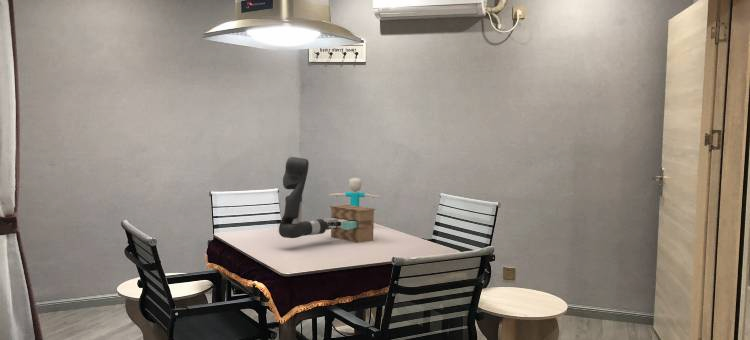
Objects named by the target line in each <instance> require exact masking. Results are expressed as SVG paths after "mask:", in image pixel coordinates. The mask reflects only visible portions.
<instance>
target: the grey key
mask: <svg viewBox="0 0 750 340" xmlns="http://www.w3.org/2000/svg"><path fill="white" fill-rule="evenodd" d="M323 220H324V221H325V222H327V221H330V222H338V220H339V218H331V217H330V218H324V219H323Z"/></svg>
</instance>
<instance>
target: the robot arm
mask: <svg viewBox="0 0 750 340" xmlns="http://www.w3.org/2000/svg"><path fill="white" fill-rule="evenodd" d="M309 165H310V163H309V160H308V159H307V158H305V157H304V158H303V157H295V156H289V157H288V158H287V160H286V163H285V171H284V174H283V177H282V185H283V188H284V189H285V190H292V191H291V192H290V194H288V195H286V196H285V199H284V201H285V206H284V214H283V216H282V218H281V220H280V224H279V226H278V232H279V236H281V237H282V238H283V239H284V238H286V239H297V238H300V237H304V236H315V235H323V234H325V233H326V231H329V230H331V229H337V226H341V222H330V221H327V222H325V221H324V219H322V218H317V219H309V220H305V221H303V193H304V189H305V185H306V180H307V176H308V173H309V167H310V166H309Z"/></svg>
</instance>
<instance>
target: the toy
mask: <svg viewBox="0 0 750 340" xmlns="http://www.w3.org/2000/svg"><path fill="white" fill-rule="evenodd" d="M348 185H349V189H350V191H351V192H349V191H347V192H346V191H345V192H341V193H340V192H339V193H337V192H336V193H329V194H328V196H329V197H330V196H331V197H336V198H338V196H339V197H345V198H347V197H348V198H349V197H350V203H349V205H352V206H359V207H360V198H368V197H371V198H373V199H375V198H380V197H382V196H381V195H379V194H378V195H377V194H374V193H373V194H370V193H365V192H358V191H361V189H362V179H361V178H358V177H352V178H350V179H349V181H348Z"/></svg>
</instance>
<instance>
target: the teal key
mask: <svg viewBox="0 0 750 340" xmlns="http://www.w3.org/2000/svg"><path fill="white" fill-rule="evenodd" d="M353 228H358V221H350V222H343V229H344V230H349V229H353Z"/></svg>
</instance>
